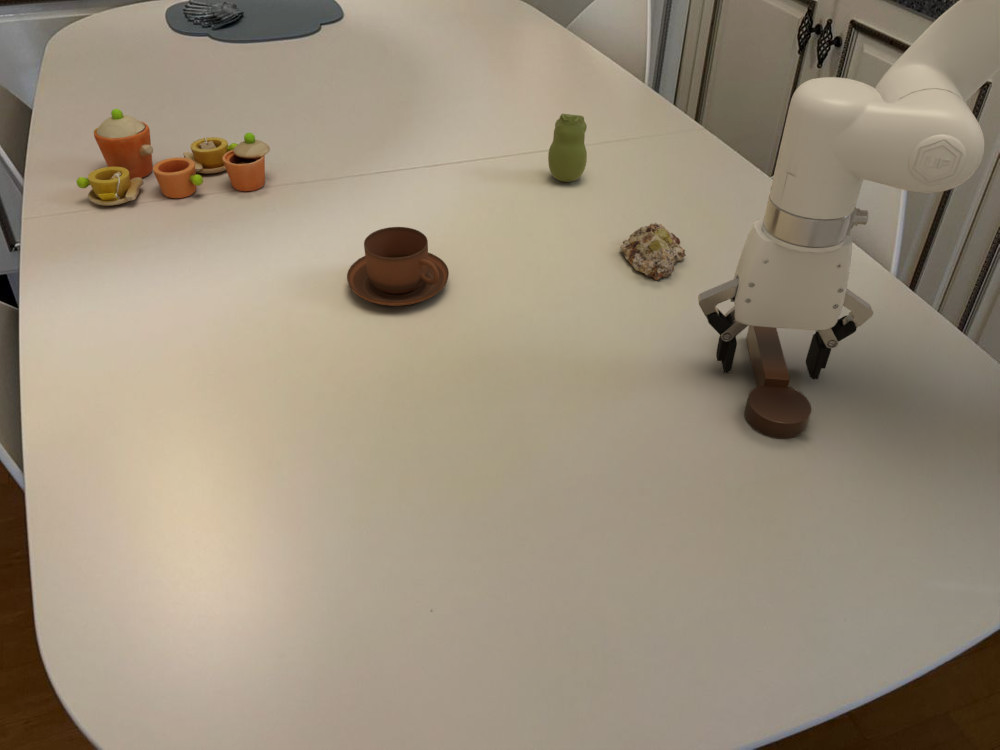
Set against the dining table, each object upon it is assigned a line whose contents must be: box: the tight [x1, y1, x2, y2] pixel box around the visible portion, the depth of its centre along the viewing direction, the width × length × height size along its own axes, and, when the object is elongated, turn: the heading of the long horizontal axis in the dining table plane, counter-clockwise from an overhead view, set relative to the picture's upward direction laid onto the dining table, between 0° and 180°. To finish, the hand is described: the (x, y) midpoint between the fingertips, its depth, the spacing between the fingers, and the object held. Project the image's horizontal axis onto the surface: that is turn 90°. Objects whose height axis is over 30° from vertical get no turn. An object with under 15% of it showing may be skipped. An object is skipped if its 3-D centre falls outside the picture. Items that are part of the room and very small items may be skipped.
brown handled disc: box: [743, 325, 812, 439], centre depth 88 cm, size 16×6×3 cm, turn 174°
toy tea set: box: [76, 108, 271, 206], centre depth 121 cm, size 26×16×10 cm, turn 103°
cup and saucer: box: [346, 226, 450, 307], centre depth 101 cm, size 12×12×6 cm
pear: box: [547, 113, 588, 183], centre depth 123 cm, size 6×5×10 cm
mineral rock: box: [619, 222, 686, 281], centre depth 108 cm, size 11×4×8 cm
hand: (768, 367), depth 89 cm, fingers open, 8 cm apart
